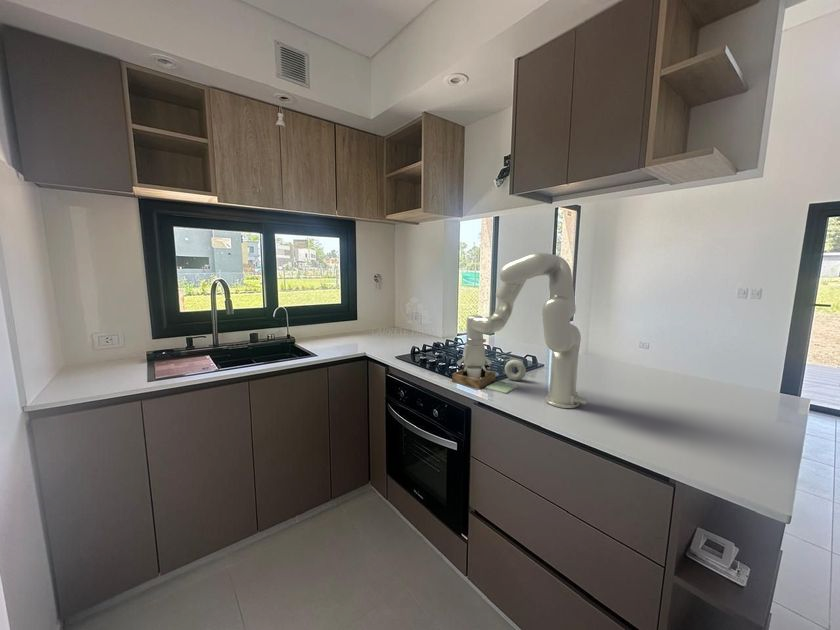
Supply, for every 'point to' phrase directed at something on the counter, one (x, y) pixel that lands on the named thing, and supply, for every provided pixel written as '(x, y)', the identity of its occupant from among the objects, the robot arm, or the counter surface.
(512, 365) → the donut
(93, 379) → the counter surface
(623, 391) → the counter surface
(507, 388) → the green mat
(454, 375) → the walnut box
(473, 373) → the white cylinder
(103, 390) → the counter surface
